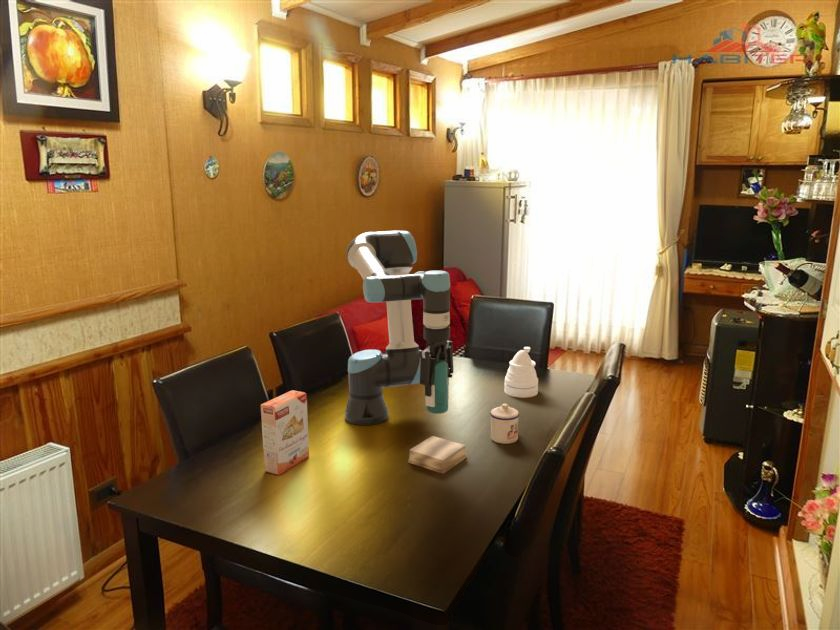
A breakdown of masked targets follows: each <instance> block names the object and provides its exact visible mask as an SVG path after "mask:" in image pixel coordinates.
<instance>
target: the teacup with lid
mask: <svg viewBox="0 0 840 630" xmlns="http://www.w3.org/2000/svg"><path fill="white" fill-rule="evenodd" d="M519 417H520V412H519V410H517V409H516V408H514V407H511V406H509V404H507V403H502V404H501V405H500V406H497V407H495V408H492V409H491V410H490V439H491V441H493V442H494V443H498V444H503V445H507V444H509V445H510V444H513V443H516V442H517V440H518V438H519Z"/></svg>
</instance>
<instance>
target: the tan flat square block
mask: <svg viewBox="0 0 840 630" xmlns="http://www.w3.org/2000/svg"><path fill="white" fill-rule="evenodd" d="M408 452H409V453H408V457H409V458H408V459H407V463H409V464H412V465H415V466H418V467H421V468H423V469H428V470H430V471H433V472H436V473H439V474H441V475H444V474H445V473H447V472H448V471H450V470H451V469H452V468H454V467H455V466H457V465H459V463H461V462H463V461H464V460H465V459H467V454H466V445H465V444H463V443H459V442H455V441H452V440H448V439H445V438H442V437H437V436H435V435H431V436H429V438H428V437H427V438H426V439H425V440H423V441H421V442H420V443H418V444H417V445H415V446H413V447H411V448H410V449H409V450H408Z"/></svg>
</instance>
